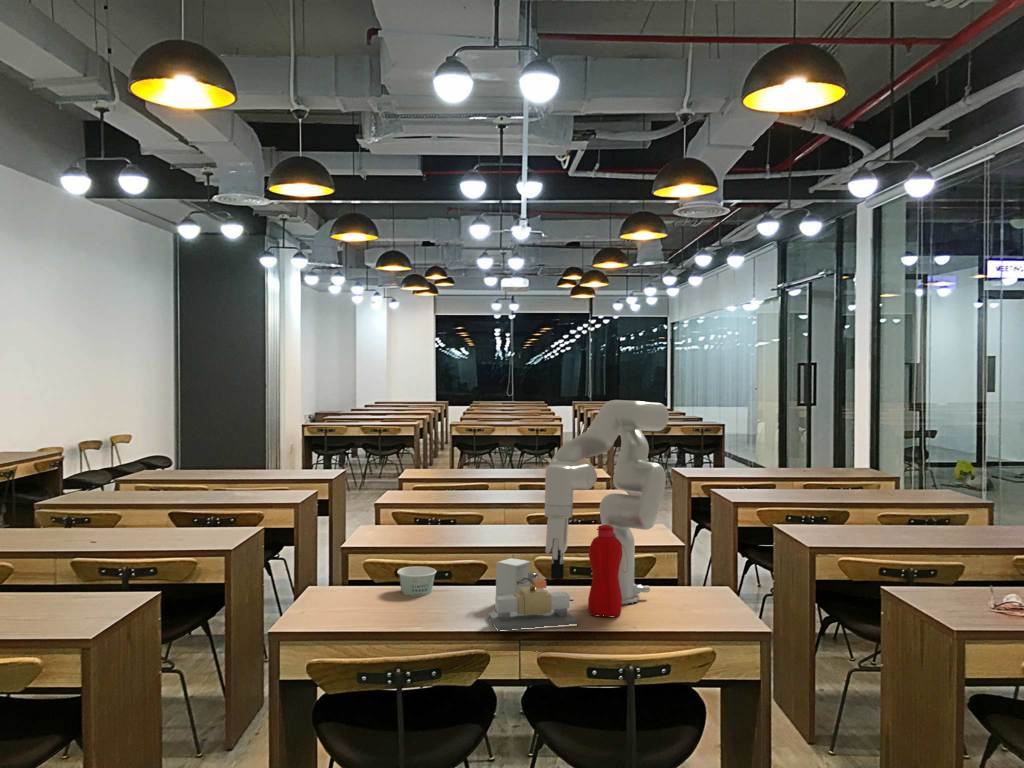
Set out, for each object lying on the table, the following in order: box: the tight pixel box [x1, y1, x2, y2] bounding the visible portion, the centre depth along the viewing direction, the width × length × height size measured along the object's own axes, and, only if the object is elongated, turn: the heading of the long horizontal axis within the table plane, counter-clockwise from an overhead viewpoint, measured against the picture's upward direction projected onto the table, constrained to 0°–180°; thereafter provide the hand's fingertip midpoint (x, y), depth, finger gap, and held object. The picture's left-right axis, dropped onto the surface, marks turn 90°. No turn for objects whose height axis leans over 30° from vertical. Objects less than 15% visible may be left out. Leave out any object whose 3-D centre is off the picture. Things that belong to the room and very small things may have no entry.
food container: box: [396, 565, 437, 597], centre depth 268 cm, size 12×12×6 cm
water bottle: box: [587, 524, 628, 617], centre depth 246 cm, size 9×11×25 cm
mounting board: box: [487, 609, 579, 632], centre depth 238 cm, size 22×12×2 cm, turn 104°
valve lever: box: [528, 571, 547, 589], centre depth 234 cm, size 10×3×2 cm, turn 14°
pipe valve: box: [494, 581, 571, 621], centre depth 238 cm, size 20×6×10 cm, turn 104°
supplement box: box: [495, 557, 531, 596], centre depth 255 cm, size 7×7×13 cm
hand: (557, 578), depth 236 cm, fingers closed
